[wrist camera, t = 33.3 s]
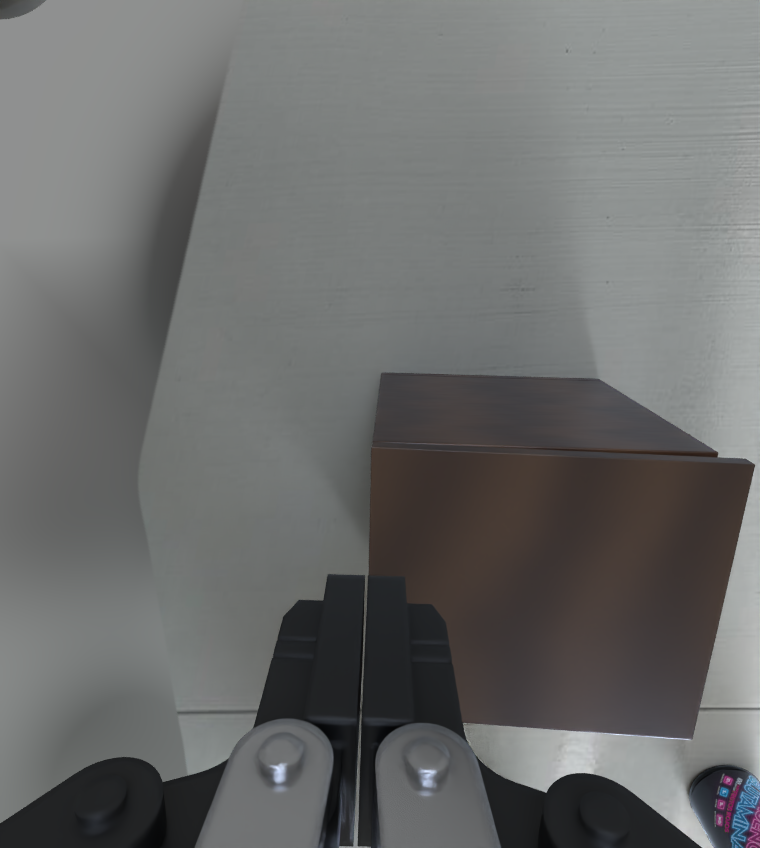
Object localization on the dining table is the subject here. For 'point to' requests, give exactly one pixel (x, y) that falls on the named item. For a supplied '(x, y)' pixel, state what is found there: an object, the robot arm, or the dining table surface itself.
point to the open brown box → (523, 415)
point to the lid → (565, 576)
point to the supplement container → (728, 806)
